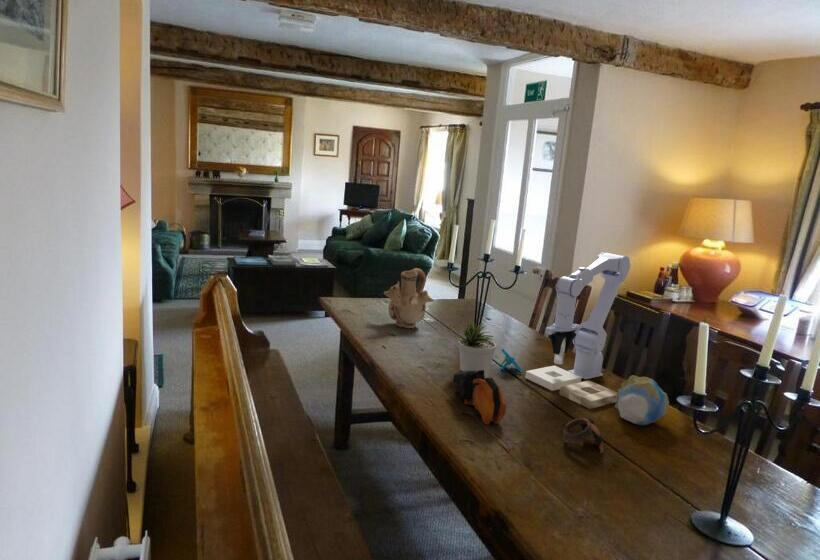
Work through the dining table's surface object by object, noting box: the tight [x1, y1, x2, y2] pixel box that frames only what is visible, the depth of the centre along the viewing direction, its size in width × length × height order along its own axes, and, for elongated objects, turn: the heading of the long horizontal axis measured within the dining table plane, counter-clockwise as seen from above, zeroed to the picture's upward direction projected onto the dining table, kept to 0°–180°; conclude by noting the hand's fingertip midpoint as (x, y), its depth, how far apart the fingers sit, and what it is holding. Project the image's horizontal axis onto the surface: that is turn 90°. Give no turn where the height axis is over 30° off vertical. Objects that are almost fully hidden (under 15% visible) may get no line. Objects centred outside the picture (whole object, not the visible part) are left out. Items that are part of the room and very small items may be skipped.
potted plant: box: [454, 319, 497, 379], centre depth 186 cm, size 13×14×20 cm
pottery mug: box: [562, 416, 604, 454], centre depth 144 cm, size 12×10×8 cm
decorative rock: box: [614, 375, 670, 426], centre depth 162 cm, size 14×16×15 cm
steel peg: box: [553, 337, 567, 365], centre depth 185 cm, size 3×3×9 cm
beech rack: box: [559, 380, 618, 410], centre depth 176 cm, size 14×12×2 cm
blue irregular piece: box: [499, 348, 523, 372], centre depth 196 cm, size 11×6×10 cm
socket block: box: [524, 365, 583, 392], centre depth 188 cm, size 14×12×2 cm
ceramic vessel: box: [383, 267, 435, 329], centre depth 238 cm, size 18×19×25 cm
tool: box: [452, 370, 507, 426], centre depth 160 cm, size 8×23×15 cm, turn 19°
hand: (559, 353), depth 185 cm, fingers closed on steel peg, 3 cm apart
